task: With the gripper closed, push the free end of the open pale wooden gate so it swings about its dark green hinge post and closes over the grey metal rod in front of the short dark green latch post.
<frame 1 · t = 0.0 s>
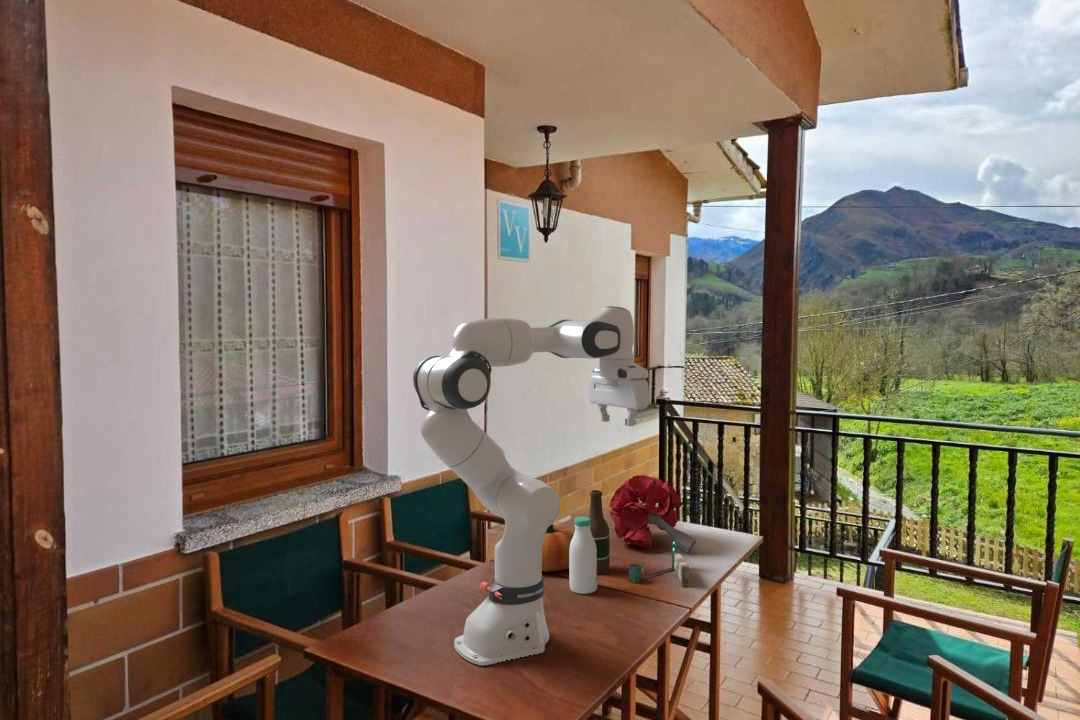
hand: (617, 423, 174), 48 cm above the table, tool pointing down, fingers open, 8 cm apart
latch post: (634, 581, 193), on the table
beer bottle: (596, 570, 202), on the table
gate: (681, 567, 194), point 3 cm above the table, hinge at 55.0°
grey metal rod: (655, 574, 198), on the table
pumpkin: (549, 565, 207), on the table
milk bottle: (583, 589, 188), on the table
hinge post: (676, 568, 202), on the table
bouquet: (651, 546, 222), on the table
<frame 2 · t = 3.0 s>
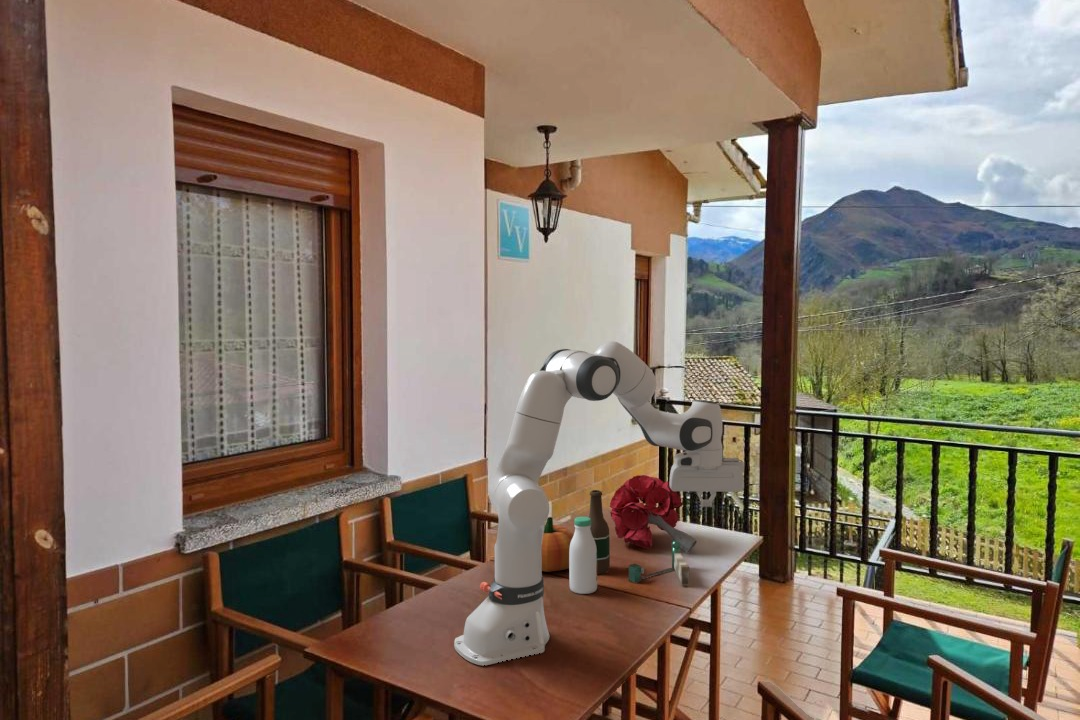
hand: (706, 506, 189), 22 cm above the table, tool pointing down, fingers closed
nothing on the table moved.
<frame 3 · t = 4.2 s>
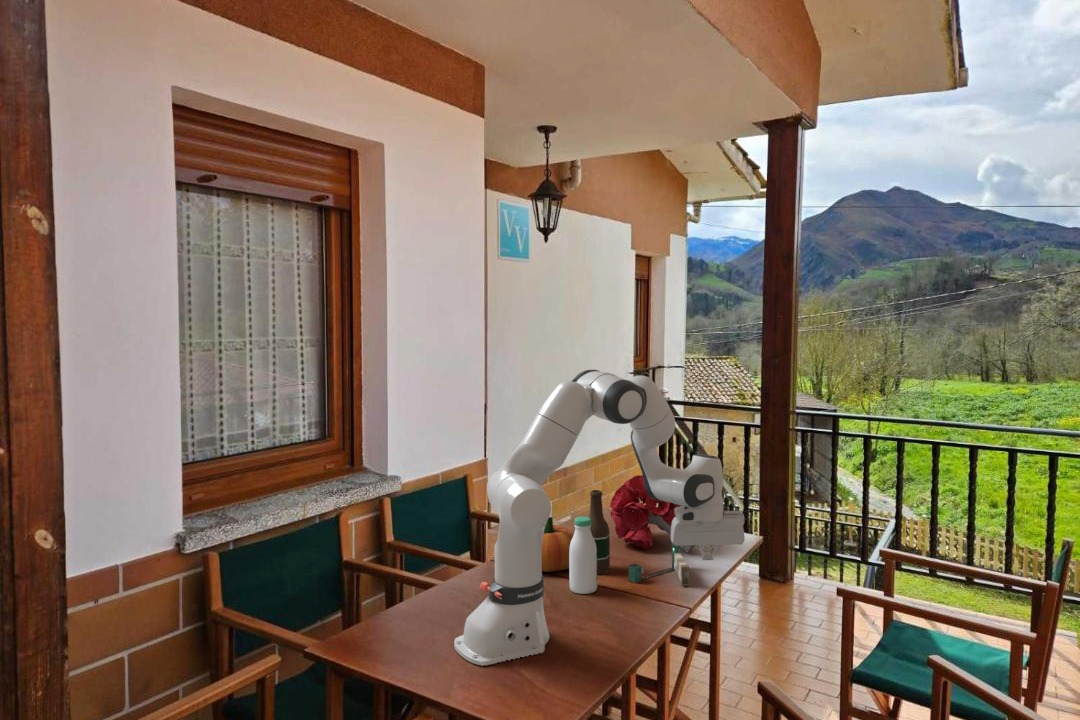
hand: (707, 559, 190), 7 cm above the table, tool pointing down, fingers closed
nothing on the table moved.
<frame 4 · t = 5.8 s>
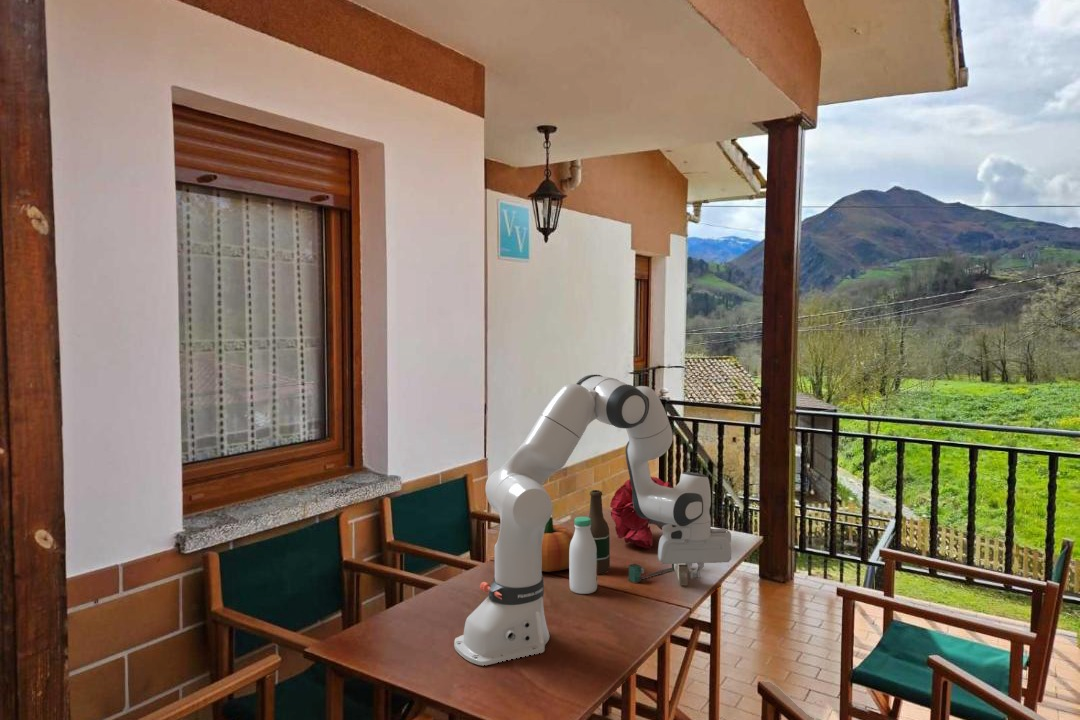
hand: (694, 577, 190), 2 cm above the table, tool pointing down, fingers closed
gate: (680, 567, 194), point 3 cm above the table, hinge at 52.9°, touching gripper
everything else where it was.
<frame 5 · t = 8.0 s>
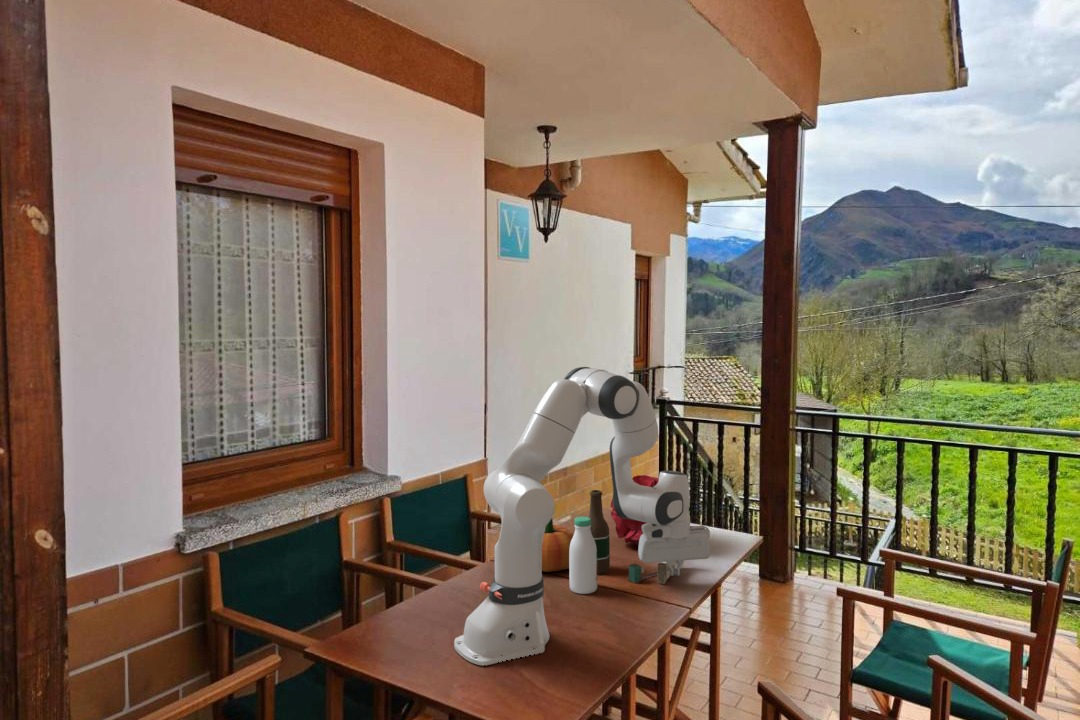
hand: (674, 575, 191), 2 cm above the table, tool pointing down, fingers closed
gate: (667, 566, 195), point 3 cm above the table, hinge at 27.2°, touching gripper
everything else where it was.
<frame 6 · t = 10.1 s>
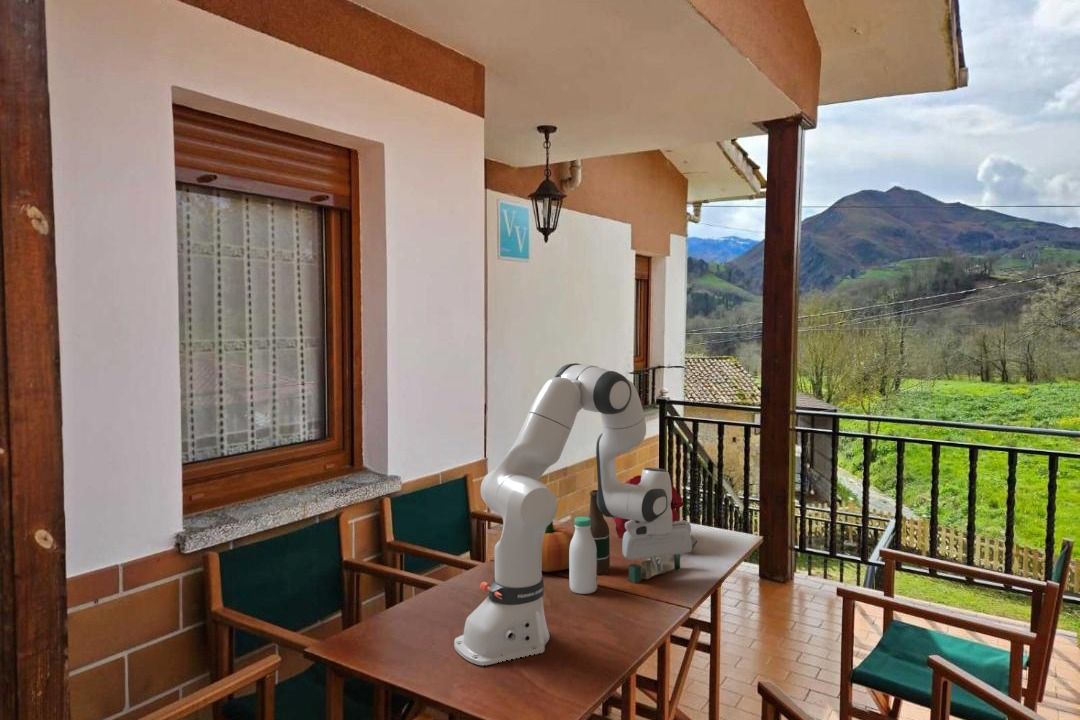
hand: (657, 570, 193), 3 cm above the table, tool pointing down, fingers closed
gate: (658, 564, 197), point 3 cm above the table, hinge at 4.5°, touching gripper
everything else where it was.
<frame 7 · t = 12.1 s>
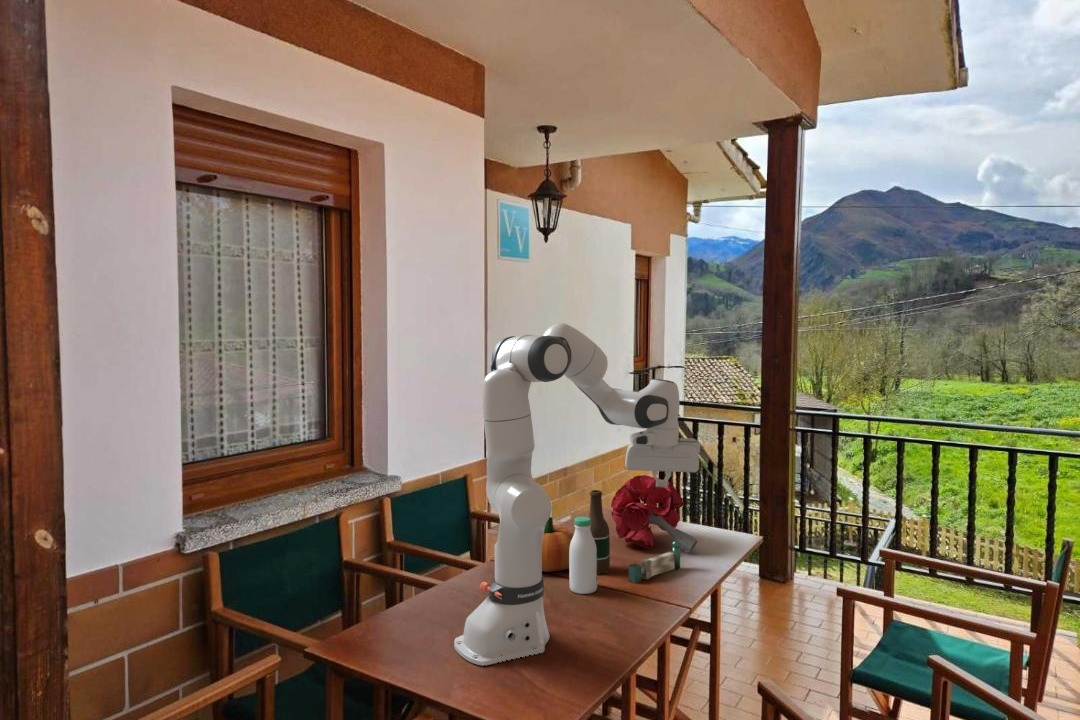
hand: (661, 486, 188), 28 cm above the table, tool pointing down, fingers closed
gate: (658, 564, 197), point 3 cm above the table, hinge at 4.6°
everything else where it was.
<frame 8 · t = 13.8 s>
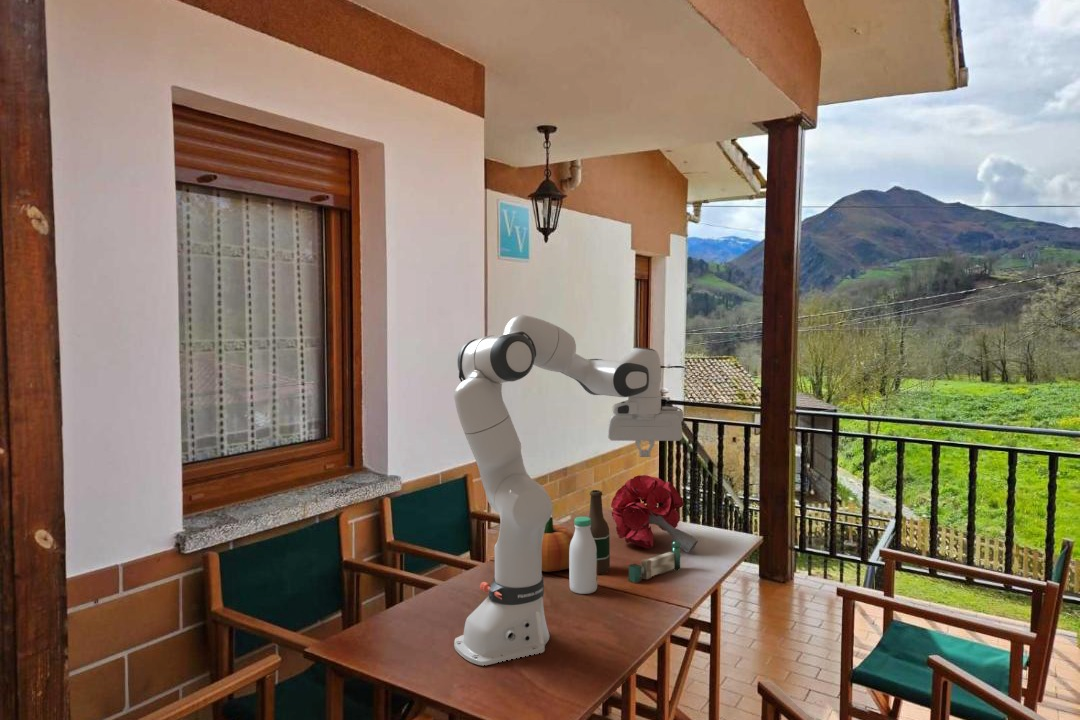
hand: (644, 456, 185), 37 cm above the table, tool pointing down, fingers closed
nothing on the table moved.
at the end: gate at +5° (first picture: +55°); gate touching nothing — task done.
